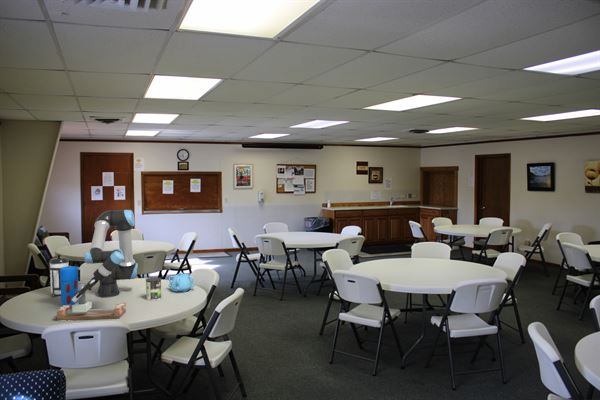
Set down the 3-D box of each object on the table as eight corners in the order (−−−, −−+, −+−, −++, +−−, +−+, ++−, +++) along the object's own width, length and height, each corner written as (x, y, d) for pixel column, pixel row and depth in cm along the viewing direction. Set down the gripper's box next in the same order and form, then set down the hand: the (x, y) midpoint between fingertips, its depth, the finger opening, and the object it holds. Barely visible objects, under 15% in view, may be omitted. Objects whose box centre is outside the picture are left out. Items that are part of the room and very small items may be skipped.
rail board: (65, 314, 287) (64, 303, 287) (127, 311, 291) (127, 301, 291) (55, 321, 273) (55, 310, 273) (121, 318, 277) (120, 307, 277)
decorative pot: (196, 291, 342) (195, 273, 342) (175, 294, 333) (175, 276, 332) (187, 287, 355) (187, 269, 355) (167, 290, 346) (166, 272, 345)
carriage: (78, 307, 286) (77, 282, 285) (92, 307, 287) (91, 282, 286) (72, 312, 276) (71, 286, 275) (86, 312, 277) (85, 286, 276)
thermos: (82, 302, 313) (81, 266, 312) (70, 307, 303) (68, 269, 301) (70, 301, 316) (68, 266, 315) (57, 305, 306) (56, 269, 305)
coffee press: (42, 296, 331) (41, 255, 329) (61, 291, 345) (60, 252, 344) (60, 298, 324) (58, 257, 323) (78, 293, 339) (77, 253, 337)
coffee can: (164, 297, 326) (163, 277, 325) (156, 301, 316) (156, 280, 315) (151, 296, 328) (150, 277, 327) (143, 300, 318) (142, 280, 317)
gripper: (101, 280, 271) (74, 308, 270) (112, 272, 293) (87, 298, 292) (91, 272, 270) (64, 299, 269) (103, 264, 292) (79, 290, 291)
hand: (76, 298), depth 281 cm, fingers open, 9 cm apart
